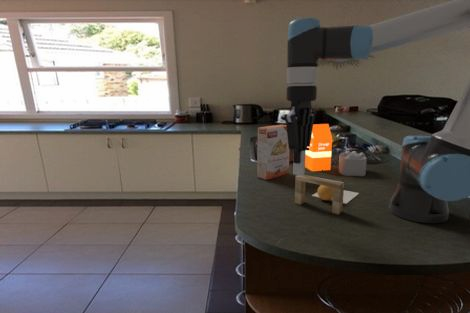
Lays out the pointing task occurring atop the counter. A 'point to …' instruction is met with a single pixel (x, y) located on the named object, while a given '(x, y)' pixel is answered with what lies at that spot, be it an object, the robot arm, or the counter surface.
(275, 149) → the cracker box
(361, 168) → the grey toy brick
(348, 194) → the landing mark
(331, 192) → the ball
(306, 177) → the bridge
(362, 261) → the counter surface
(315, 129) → the orange juice
